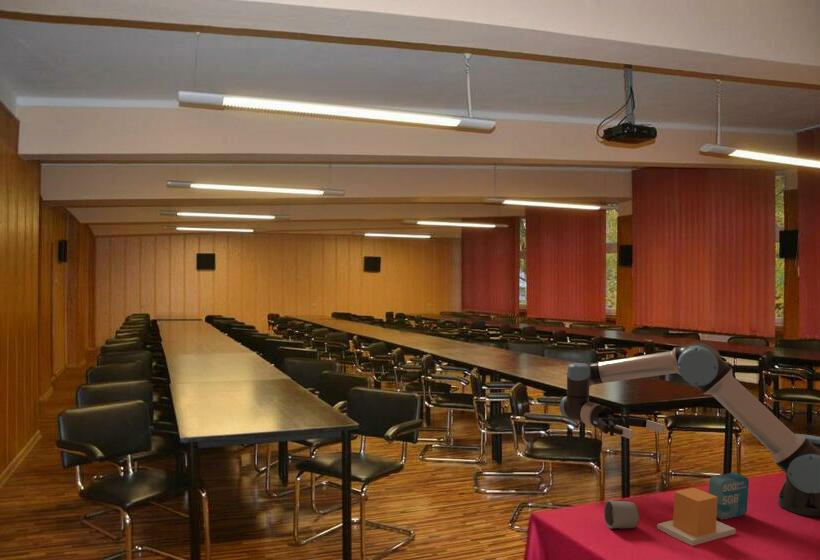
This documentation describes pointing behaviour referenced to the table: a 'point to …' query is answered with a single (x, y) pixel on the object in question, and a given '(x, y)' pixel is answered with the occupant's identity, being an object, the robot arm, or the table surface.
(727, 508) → the data package
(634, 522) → the ceramic mug
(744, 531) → the table surface
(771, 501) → the table surface
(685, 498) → the tall orange block
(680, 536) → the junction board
